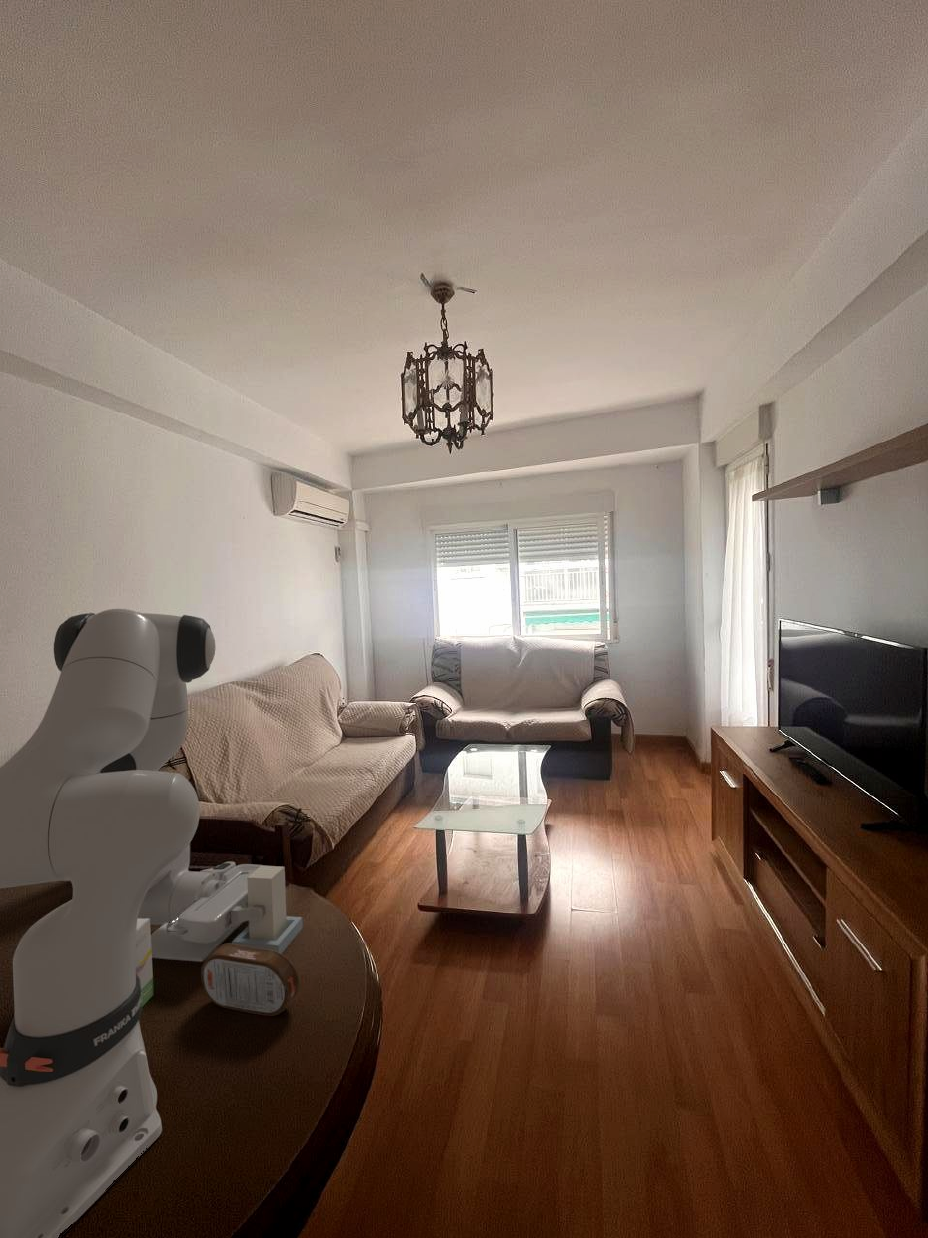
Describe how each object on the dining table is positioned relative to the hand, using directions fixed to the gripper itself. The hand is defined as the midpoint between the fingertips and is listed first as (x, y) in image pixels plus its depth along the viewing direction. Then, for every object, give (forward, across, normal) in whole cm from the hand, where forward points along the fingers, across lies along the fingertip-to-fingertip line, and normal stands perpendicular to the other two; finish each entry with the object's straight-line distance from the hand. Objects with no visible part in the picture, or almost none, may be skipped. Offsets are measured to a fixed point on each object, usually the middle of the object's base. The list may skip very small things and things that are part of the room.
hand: (272, 903), depth 96 cm
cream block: (-1, 0, +6) cm, 7 cm away
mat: (-16, 0, +6) cm, 17 cm away
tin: (+5, -16, +7) cm, 18 cm away
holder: (-1, 0, +6) cm, 7 cm away
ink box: (-15, -18, +7) cm, 24 cm away
